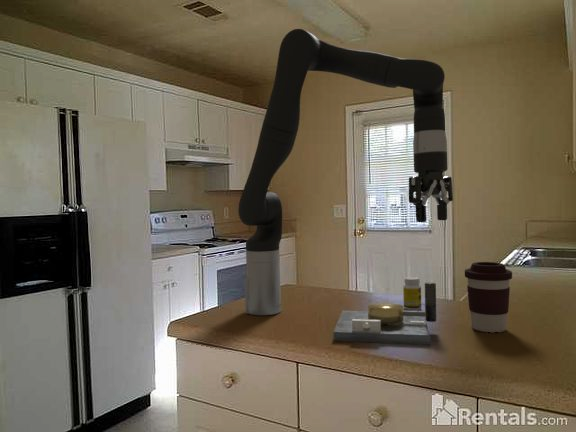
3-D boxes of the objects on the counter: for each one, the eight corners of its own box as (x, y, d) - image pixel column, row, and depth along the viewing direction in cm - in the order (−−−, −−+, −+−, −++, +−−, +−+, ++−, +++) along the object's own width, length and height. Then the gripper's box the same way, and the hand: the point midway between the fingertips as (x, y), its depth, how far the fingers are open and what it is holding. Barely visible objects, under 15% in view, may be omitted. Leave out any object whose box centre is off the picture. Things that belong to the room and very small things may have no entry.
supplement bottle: (422, 310, 123) (421, 279, 123) (404, 310, 124) (403, 279, 124) (420, 306, 128) (420, 276, 128) (403, 306, 129) (402, 276, 129)
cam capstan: (367, 323, 103) (366, 286, 103) (368, 314, 111) (368, 279, 110) (438, 325, 100) (437, 287, 99) (434, 316, 108) (434, 280, 107)
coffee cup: (509, 337, 98) (509, 268, 98) (461, 331, 103) (460, 265, 103) (515, 326, 107) (514, 261, 106) (469, 321, 112) (469, 260, 111)
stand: (333, 341, 99) (333, 321, 99) (342, 318, 118) (342, 301, 118) (430, 345, 95) (429, 324, 94) (423, 320, 113) (423, 302, 113)
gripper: (426, 148, 100) (428, 223, 100) (461, 151, 109) (463, 219, 109) (397, 152, 105) (400, 222, 106) (433, 154, 114) (435, 219, 115)
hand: (432, 221), depth 107 cm, fingers open, 8 cm apart
